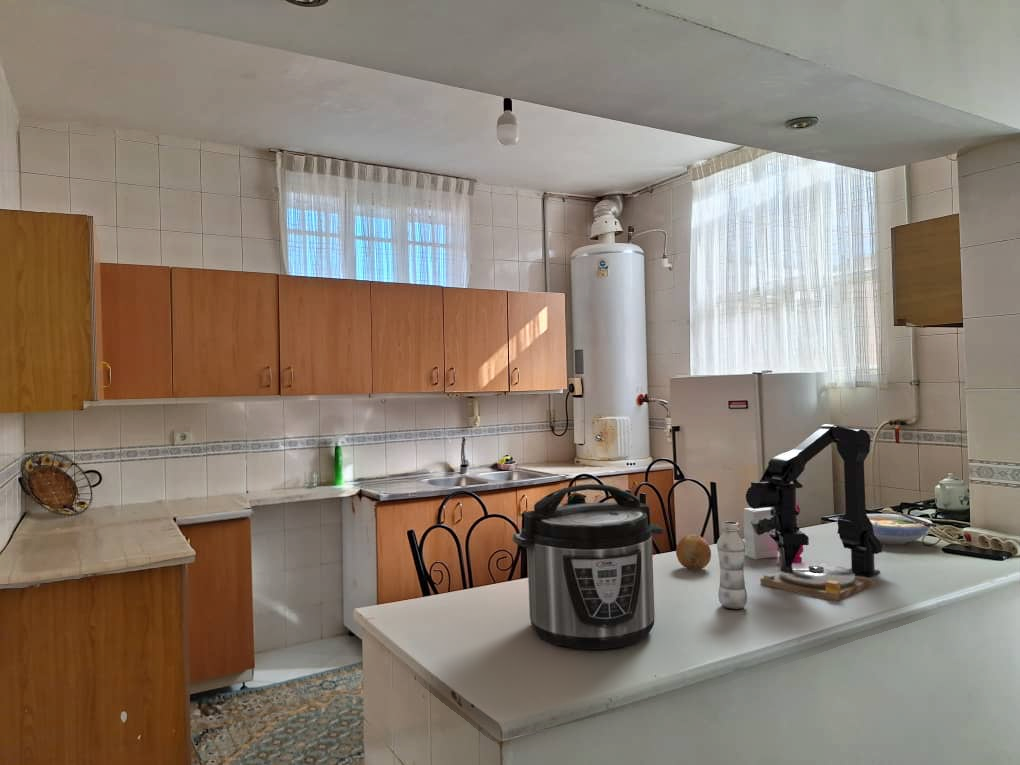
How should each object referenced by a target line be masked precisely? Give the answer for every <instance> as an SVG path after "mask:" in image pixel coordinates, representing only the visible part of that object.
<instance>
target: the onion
mask: <svg viewBox="0 0 1020 765" xmlns="http://www.w3.org/2000/svg"><path fill="white" fill-rule="evenodd" d="M675 555H676V557H677V561H678V562H679V564H680V565H682V566H683V568H686V569H687V570H692V571H696V570H702V569H704V568H705V567H706V566H708V564H709V563H710V562H711V559H712V557H711V556H712V550H711V546H710V544H709V542H708V541H707V540H706V539H705V538H703V537H702V536H701V535H699V534H696V533H695V534H694V533H692V534H688V535H684V536H682V537H681V538H680V539H679V540H678V542H677V544H676V550H675Z"/></svg>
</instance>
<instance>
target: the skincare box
mask: <svg viewBox="0 0 1020 765" xmlns="http://www.w3.org/2000/svg"><path fill="white" fill-rule="evenodd" d="M771 508H772V507H767V508H758V509H753V508H751V507H746V508H745V507H744V508H743V510H742V511H743V533H744V539H743V541H744V543H745V556H747V557H749V558H751V559H753V560H760V559H768V558H770V559H771V558H779V552H778V550H777V544H776V542H775V541H774V540H773V539H772V538H771V537H770V536H769V535H772V530H770V532H765V533H764V534H761V535H757V533H755V532H754V529H753V527H752V524H751V522H750V521H751V520H754V519H756V518H759V517H762V516H765V515H769V514H770V509H771Z"/></svg>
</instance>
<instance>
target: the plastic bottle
mask: <svg viewBox="0 0 1020 765" xmlns="http://www.w3.org/2000/svg"><path fill="white" fill-rule="evenodd" d="M739 526H740V524H739V522H737V521H729V520H726V521H723V522H722V528H721V530H722V533H721V535H720V537H719V538H718V539H717V541H716V542H717V543H716V548H717V554H718V561H719V572H720V573H719V574H720V575H719V586H718V594H717V597H718V602H719V603H720V605H721V606H722V607H724V608H728V609H734V610H736V609H737V610H738V609H744V608H745V607H746V606H747V603H748V592H747V589H746V581H745V572H744V571H745V570H744V568H745V556H746V555H745V540H744V539H743V538H742V536H741V535H740V534H739V532H740V527H739Z"/></svg>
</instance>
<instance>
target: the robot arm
mask: <svg viewBox="0 0 1020 765" xmlns="http://www.w3.org/2000/svg"><path fill="white" fill-rule="evenodd" d="M832 443H834V444H836V451H837V452H838V454H839V456H840V457H841V459H842V461H843V473H844V474H843V477H844V500H845V504H844V505H845V513H844V514H843V516H842V518H838V519H837V532H836V533H837V534H839V539H840V540H841V543H842V546H843V548H844V549H848V550H850V557H851V558H850V562H851V564H850V565H851V566H850V567H851V568H849V570H851V571H852V572H854V574H855V575H859V576H860V575H861V576H865V577H872V576H875V575H877V574H879V573H881V570H879V569H875V555H878V554H880V553H882V551H883V547H884V545H883V544H884V543H882V542H880V541H879V540H878V539H877V538H876V536H875V535H874V531H873V525H872V523H871V521H870V520H869V518H868V516H867V515H866V514H867V512H866V510H867V509H866V508H867V507H866V486H865V485H866V484H865V483H866V482H865V461H866V459H867V457H868V455H869V453H870V451H871V435H870V433H869V432H868V431H867V430H865V429H858V428H845V427H842V426H838V425H837V424H822V425H820V426H819V427H818V429H817V430H816V431H815V432H813V433H812V434H810V435H809V436H808V437H807V438H805V439H804V440H803V441H802V442H801V443H799V444H798V445H797V446H795V447H794V448H792V449H791V450H789V451H786V452H783V453H780V454H778V455H776V456H774V457H772V458H771V459H769V461H768V465H767V467H766V469H765V471H764V473H763V475H762V476H761V478H760V480H759V481H752V482H750V487H748V489H747V490H746V493H745V500H746V503H747V505H748V506H749V508H753V509H758V508H767V507H770V508H771V509H770V514H769V515H765V516H762V517H759V518H756V519H754V520H751V521H750V522H751V524H752V527H753V529H754V532H755V533H757V535H761V534H764V533H765V532H770V530H772V535H769V536H770V537H771V538H772V539H773V540H774V541H775V542H776V544H777V547H778V550H779V552H778V555H780V547H782V549H783V554H784V560H785V564H786V567H791V565H792V563H793V561H794V559H795V556H796V554H797V552H798V551H799V549H800V547H801V545H803V546H809V544H810V543H809V542H810V540H809V538H810V537H809V536H808V535H807V534H806V533H805V532H803V531H802V530H800V526H799V525H798V522H797V517H798V516H800V513H799V511H798V510H797V508H796V502H797V489H801V488H803V487H804V486H803V484H802V483H800V482H799V481H798V480H797V479H798V478H799V477H800V476H801V474H802V473H803V472H804V471H805V468H806V465H807V463H808V462H810V461H811V460H813V458H814V457H816V456H817V455H818V454H820V453H821V452H822V451H824V450H825V449H826V448H827V447H828V446H829V445H831V444H832Z"/></svg>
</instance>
